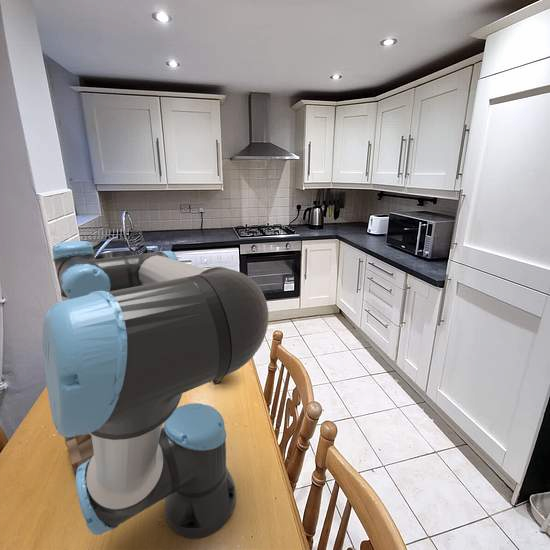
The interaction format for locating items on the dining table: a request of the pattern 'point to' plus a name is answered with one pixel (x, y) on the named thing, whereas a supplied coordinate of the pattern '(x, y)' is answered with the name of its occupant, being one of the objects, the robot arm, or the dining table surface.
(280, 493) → the dining table surface
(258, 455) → the dining table surface
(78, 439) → the leg
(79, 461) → the frame
